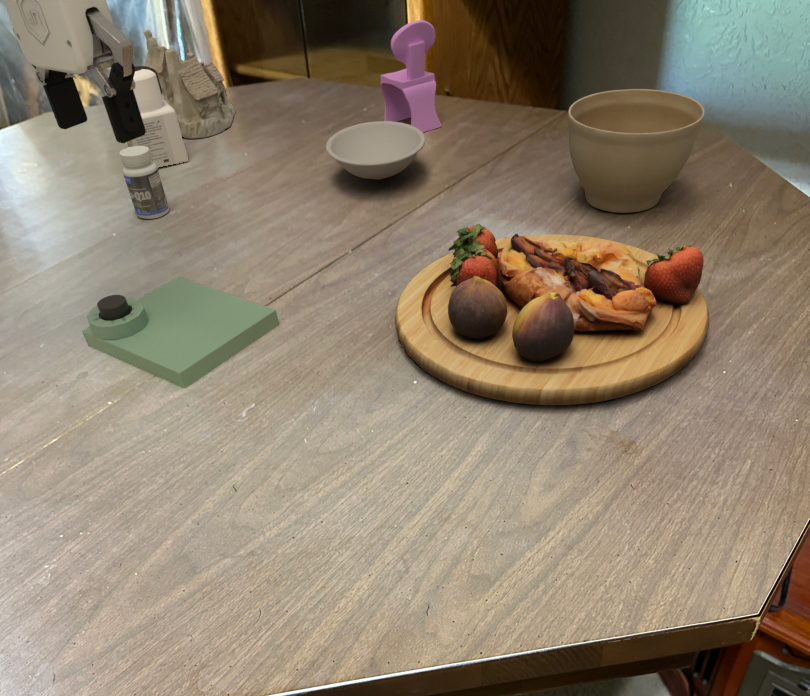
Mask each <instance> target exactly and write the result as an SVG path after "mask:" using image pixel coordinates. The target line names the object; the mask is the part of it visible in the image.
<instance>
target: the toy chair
mask: <svg viewBox="0 0 810 696" xmlns="http://www.w3.org/2000/svg"><path fill="white" fill-rule="evenodd" d="M436 36H437V35H436V29H435V27H434V26H433V24H431V23H430V22H429V21H427V20H424V19H418V20H414V21H410V22H409V23H406V24H405V25H403V26H401V28H399V29H398V30H396V31H395V32H394V34H393V36H392V38H391V40H390V49H391V52H392V54H393V55H394V58H395V59H396V60H397V61H398V62H401V63H402V64H403V65H405V68H403V69H400V70H398V71H394V72H387V73H384V74H381V75H380V82H379V85H380V90H381V93H382V95H383V101H384V116H383V121H392V122H400V121H403V120H407V119H410V125H412V126H414V127H416V128H418V129H419V130H421V131H422V132H423V133H426V132H429V131H433V130H436V129H439V128H442V123H441V121H440V119H439V115H438V113H437V111H436V105H435V104H436V103H435V100H436V92H437V91H436V90H437V82H436V78H435V75H436V74H435V73H433V72H429V71H425V69H426V68H425V66H426V65H425V64H426V54H427V53H428V51H429V50H430V49H431V48H432V47H433V46H434V44H435V43H436V42H435V41H436Z"/></svg>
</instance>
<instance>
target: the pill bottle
mask: <svg viewBox="0 0 810 696" xmlns="http://www.w3.org/2000/svg"><path fill="white" fill-rule="evenodd" d="M119 157H120V160H121V163H122V166H123V167H122V176H123V178H124V181H125V184H126V187H127V190H128V193H129V196H130V199H131V202H132V206H133V208H134V211H135V214H136V216H137V217H138V218H140V219H143V220H153V219H158V218H161V217H163V216H165V215H166V214H167V213H169V211H170V206H169V203H168V199H167V197H166V193H165V189H164V185H163V182H162V179H161V175H160V171H159V169H158V168H157V165H156V164H155V163H154V162H152V161H151V160H152V158H151V154H150V151H149V148H148V147H145V146H133V147H129V146H127V147H126V148H125V147H124V148H123V149H121V150H120V151H119Z"/></svg>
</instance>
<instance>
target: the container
mask: <svg viewBox="0 0 810 696" xmlns="http://www.w3.org/2000/svg"><path fill="white" fill-rule="evenodd" d="M134 67H135V74H134V78H133V80H134V82H135V89H133V91H134V94H135V97H136V101H137V104H138V107H139V110H140V114H141V117H142V120H143V123H144V127H145V130H146V133H145V135H143V136H140V137H138V138H136V139H133V140H131V141H128V142H126V143H127V147H133V146H145V147H148V148H149V151H150V154H151V158H152V160H151V161H152V162H154V163H155V164H156V165H157V168H158V167H163V166H167V167H169V166H168V165H172V166H174V165H173V164H176V165H180V164H184V163H187V162H188V161H189V157H188V154H187V150H186V146H185V143H184V138H182V134H181V131H180V127H179V123H178V119H177V116H176V112H175V110H174V109H173V108H172V107H171V106H170V105H169V104H168V103H167V102H166V101H165V100H164V96H163V93H162V89H161V85H160V82H159V78H158V74H157V72H156V71H155V70H154V69H153V68H150V67H147V66H145V65H138V66H137V65H134ZM183 162H184V163H183ZM179 163H180V164H179ZM163 168H164V167H163Z"/></svg>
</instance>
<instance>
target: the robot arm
mask: <svg viewBox="0 0 810 696" xmlns="http://www.w3.org/2000/svg"><path fill="white" fill-rule="evenodd" d="M3 3H4V5H5V8H6V12H7V14H8V17H9V20H10V22H11V27H12V31H13V33H14V36H15V37H16V39H17V42H18V45H19V47H20V50H21V53H22V55H23V57H24V59H25V60H26V61H27V62H28V63H30V65H31V66H32V67H33V68H34V70H35V76H36V78H37V80H38V82H39V83H40V84H41V85H42V88H43V90H44V93H45V95H46V97H47V100H48V103H49V106H50V108H51V111H52V113H53V115H54V119H55V122H56V124H57V126H58V128H60V129H62V130H68V129H70V128H74V127H75V126H76V127H77V126H78V125H82V124H83V123H87V121H88V115H87V113H86V110H85V107H84V105H83V101H82V99H81V96H80V93H79V90H78V88H77V84H76V82H75V79H74V77H73V76H68V74H72V75H81V74H85V72H86V71H88V72H89V73H90V74H91V76H92V77H93V78H94V80H95V81H96V83H97V84H98V85H99V87H100V89H101V90H102V91H103V93H104V94H105V95H104V96H102V97H101V100H102V102H103V105H104V109H105V111H106V114H107V117H108V120H109V123H110V126H111V128H112V132H113V134H114V138H115V140H116V142H117V143H120V144H126V143H127V142H128V141H131V140H133V139H136V138H138V137H140V136H143V135H145V133H146V130H145V127H144V123H143V120H142V117H141V114H140V110H139V107H138V104H137V101H136V97H135V94H134V91H133V89H135V82H134V80H133V78H134V74H135V65H134V53H133V47H134V46H133V42H132V40H131V39H130V37H128V36H127V35H126V34H125V33H124V32H123V31H122V30H121V29H119V28H118V27H117V26H116V25H115V23H114V21H113V17H112V14H111V11H110V8H109V5H108V2H107V0H3ZM109 68H110V71H109V75H107V73H106V72H105V69H109Z"/></svg>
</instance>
